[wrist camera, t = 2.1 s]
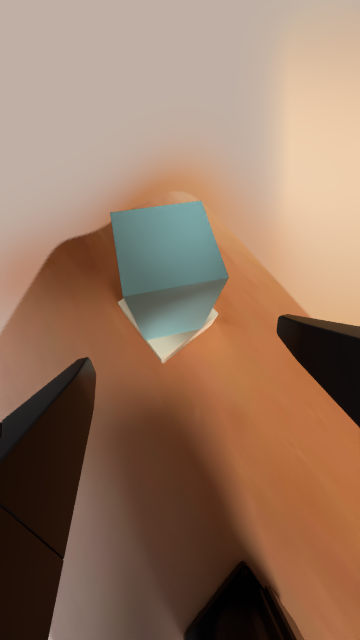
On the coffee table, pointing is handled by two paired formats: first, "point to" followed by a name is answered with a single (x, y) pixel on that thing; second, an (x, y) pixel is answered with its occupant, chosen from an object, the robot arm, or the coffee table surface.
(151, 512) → the coffee table surface
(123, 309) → the post pedestal
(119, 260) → the teal square top
